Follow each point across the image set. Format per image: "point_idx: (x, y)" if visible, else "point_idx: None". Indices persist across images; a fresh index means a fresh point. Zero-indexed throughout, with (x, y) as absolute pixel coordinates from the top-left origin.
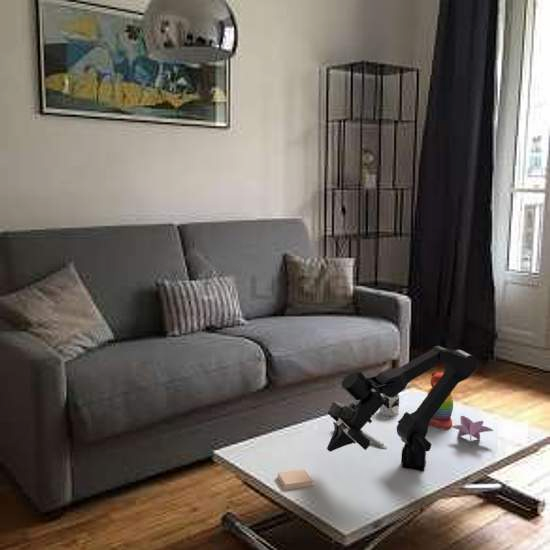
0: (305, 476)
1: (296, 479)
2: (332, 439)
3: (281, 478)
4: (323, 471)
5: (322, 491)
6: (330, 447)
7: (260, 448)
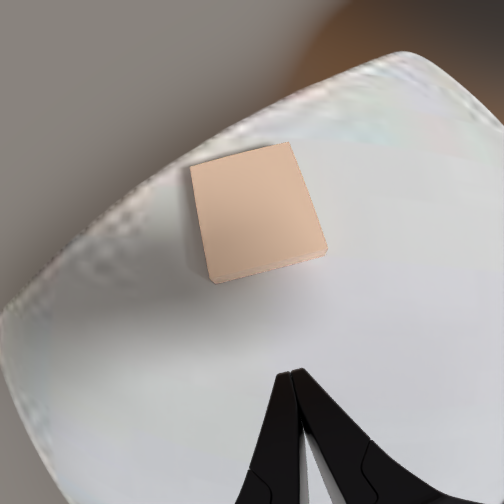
0: (252, 248)
1: (224, 206)
2: (323, 444)
3: (242, 153)
4: (348, 350)
5: (164, 318)
6: (271, 401)
7: (475, 133)
